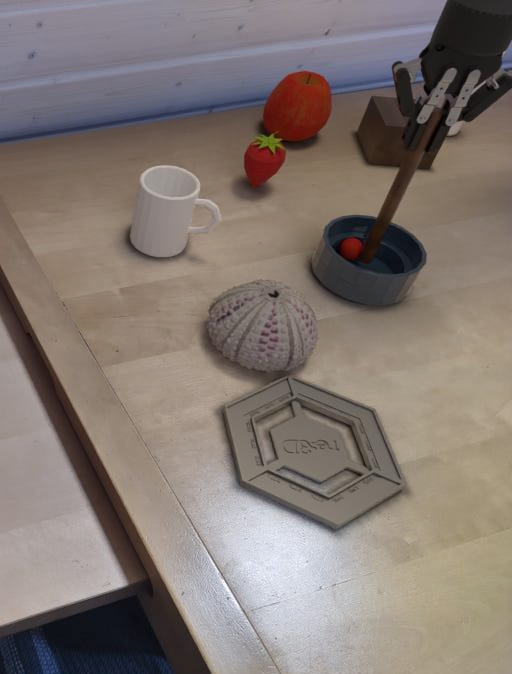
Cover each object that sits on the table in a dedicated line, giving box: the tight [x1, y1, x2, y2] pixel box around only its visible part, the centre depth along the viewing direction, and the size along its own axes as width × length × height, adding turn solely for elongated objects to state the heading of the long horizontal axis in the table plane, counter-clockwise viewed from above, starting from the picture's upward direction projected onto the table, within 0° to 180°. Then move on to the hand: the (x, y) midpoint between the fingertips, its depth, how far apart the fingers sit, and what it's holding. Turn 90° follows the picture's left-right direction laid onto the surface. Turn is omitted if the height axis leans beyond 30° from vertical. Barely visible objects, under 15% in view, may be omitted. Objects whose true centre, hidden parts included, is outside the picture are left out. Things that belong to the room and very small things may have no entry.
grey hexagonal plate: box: [222, 373, 407, 530], centre depth 78 cm, size 17×20×1 cm
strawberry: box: [243, 131, 287, 188], centre depth 109 cm, size 6×8×10 cm
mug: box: [129, 164, 223, 258], centre depth 98 cm, size 8×12×10 cm
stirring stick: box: [358, 106, 444, 264], centre depth 90 cm, size 2×2×22 cm
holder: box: [355, 95, 442, 170], centre depth 119 cm, size 10×10×7 cm
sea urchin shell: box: [206, 278, 320, 373], centre depth 86 cm, size 13×14×8 cm
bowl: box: [310, 214, 428, 306], centre depth 97 cm, size 13×13×6 cm
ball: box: [339, 238, 363, 260], centre depth 99 cm, size 3×3×3 cm
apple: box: [262, 70, 333, 143], centre depth 121 cm, size 11×11×11 cm
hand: (417, 148), depth 86 cm, fingers closed on stirring stick, 2 cm apart
